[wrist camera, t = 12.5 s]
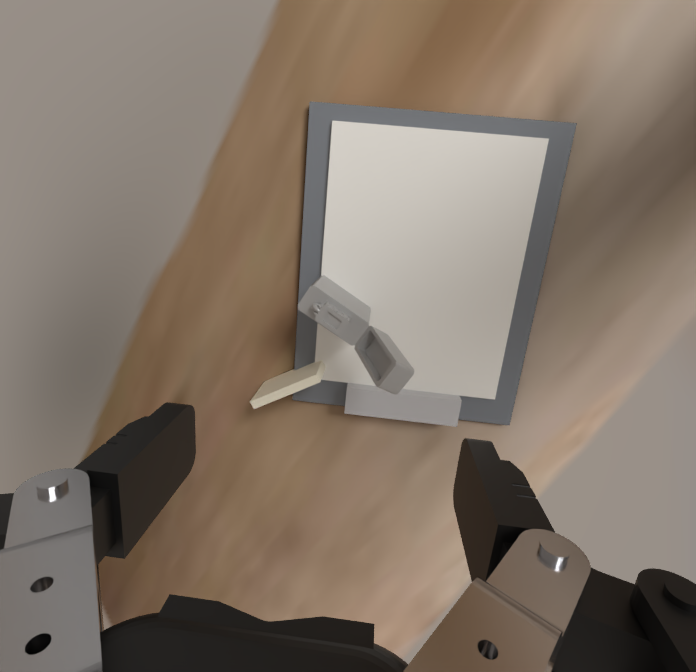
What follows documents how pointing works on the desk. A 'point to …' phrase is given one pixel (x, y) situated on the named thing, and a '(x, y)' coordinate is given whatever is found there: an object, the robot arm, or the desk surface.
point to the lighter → (357, 332)
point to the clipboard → (429, 252)
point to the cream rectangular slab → (288, 383)
